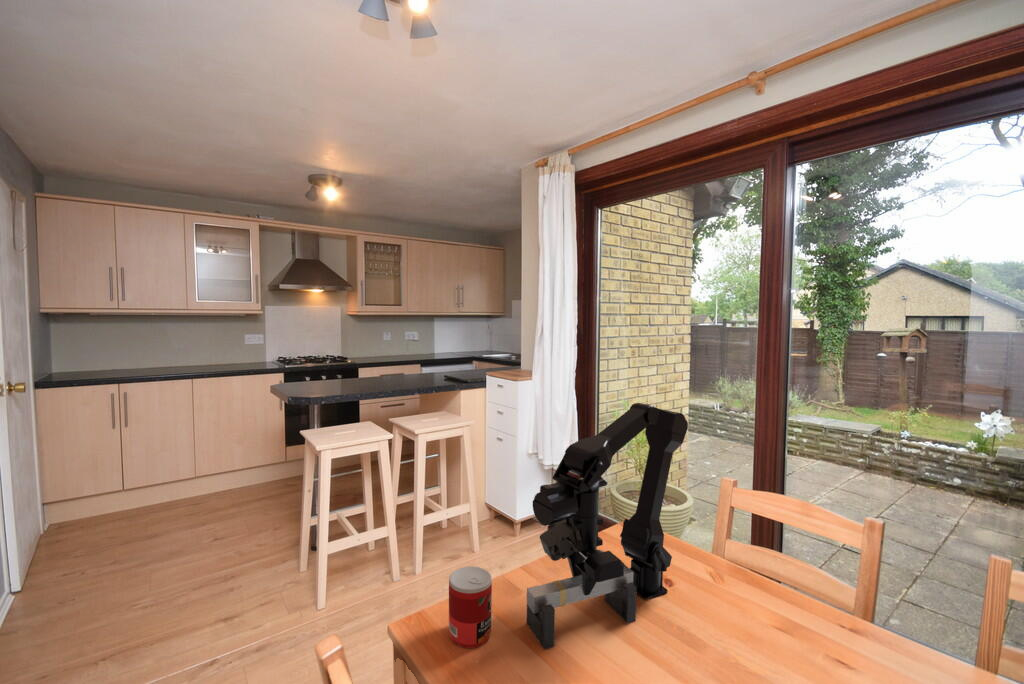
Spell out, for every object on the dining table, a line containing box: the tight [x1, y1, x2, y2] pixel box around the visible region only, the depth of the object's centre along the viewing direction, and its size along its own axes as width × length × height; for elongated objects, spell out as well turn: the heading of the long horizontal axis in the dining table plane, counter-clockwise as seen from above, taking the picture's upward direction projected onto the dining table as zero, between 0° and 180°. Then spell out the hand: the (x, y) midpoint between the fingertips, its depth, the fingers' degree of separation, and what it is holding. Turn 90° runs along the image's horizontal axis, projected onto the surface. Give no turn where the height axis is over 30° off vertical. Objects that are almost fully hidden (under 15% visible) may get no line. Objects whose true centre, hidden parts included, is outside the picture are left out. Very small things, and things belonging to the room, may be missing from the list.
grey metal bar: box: [526, 564, 633, 614], centre depth 88 cm, size 22×3×3 cm, turn 113°
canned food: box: [448, 566, 493, 649], centre depth 84 cm, size 8×8×11 cm
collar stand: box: [526, 582, 637, 650], centre depth 88 cm, size 20×8×7 cm, turn 113°
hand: (582, 589), depth 88 cm, fingers closed on grey metal bar, 3 cm apart
